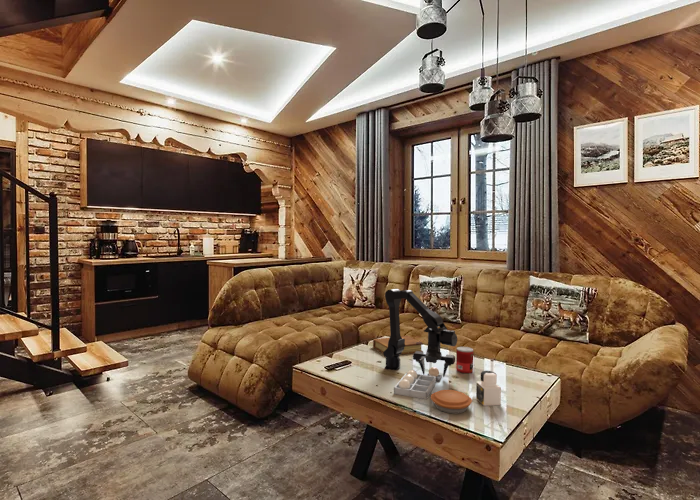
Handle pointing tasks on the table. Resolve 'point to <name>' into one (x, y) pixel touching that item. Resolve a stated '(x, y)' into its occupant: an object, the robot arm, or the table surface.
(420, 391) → the egg tray
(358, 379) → the table surface
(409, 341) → the diary
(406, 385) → the white egg
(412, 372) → the white egg
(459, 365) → the canned food
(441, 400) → the pie
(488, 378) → the medicine bottle
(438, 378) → the egg dish
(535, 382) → the table surface
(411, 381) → the white egg
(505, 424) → the table surface
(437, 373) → the brown egg
